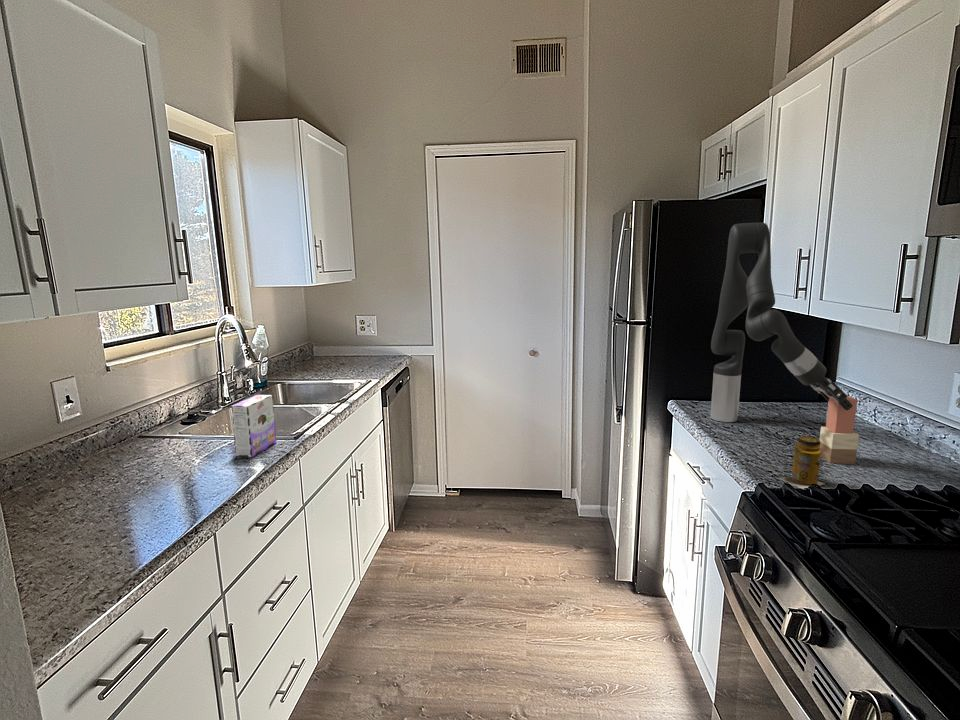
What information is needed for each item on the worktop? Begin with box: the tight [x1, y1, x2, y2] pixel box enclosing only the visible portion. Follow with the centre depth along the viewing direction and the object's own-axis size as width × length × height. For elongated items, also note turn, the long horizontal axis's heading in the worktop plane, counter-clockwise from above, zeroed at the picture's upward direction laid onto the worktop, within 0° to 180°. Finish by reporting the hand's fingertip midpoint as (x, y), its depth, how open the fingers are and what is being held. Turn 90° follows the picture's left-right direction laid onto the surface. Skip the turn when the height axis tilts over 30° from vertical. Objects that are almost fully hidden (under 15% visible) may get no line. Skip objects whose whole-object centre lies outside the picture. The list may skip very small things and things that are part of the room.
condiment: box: [778, 435, 826, 490], centre depth 144 cm, size 7×8×12 cm
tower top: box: [819, 426, 860, 451], centre depth 160 cm, size 7×7×4 cm
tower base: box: [820, 442, 858, 465], centre depth 161 cm, size 7×7×4 cm
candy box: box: [230, 394, 277, 458], centre depth 172 cm, size 14×6×16 cm, turn 168°
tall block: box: [825, 394, 858, 433], centre depth 159 cm, size 5×5×10 cm
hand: (840, 404), depth 158 cm, fingers open, 8 cm apart
